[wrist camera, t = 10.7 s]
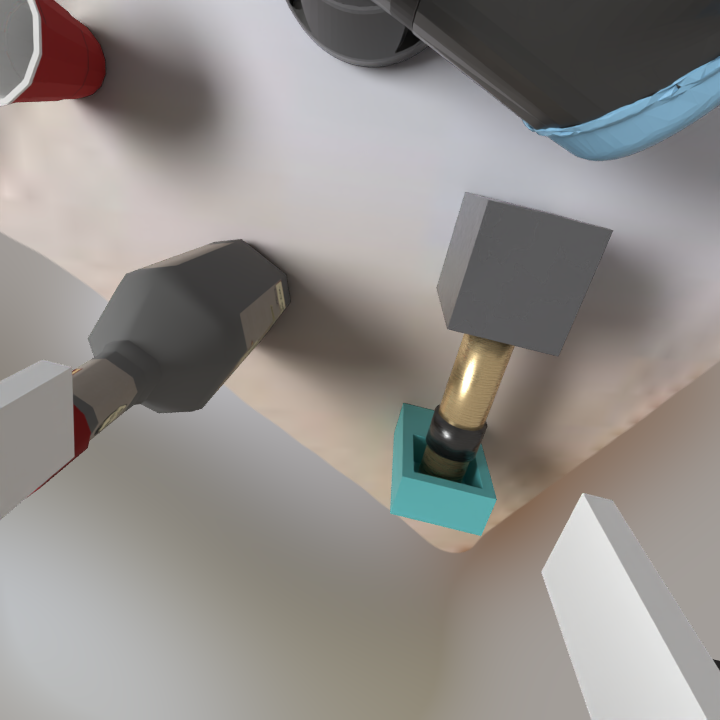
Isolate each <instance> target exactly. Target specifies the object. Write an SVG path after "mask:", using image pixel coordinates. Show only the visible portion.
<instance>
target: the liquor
mask: <svg viewBox="0 0 720 720" xmlns="http://www.w3.org/2000/svg"><path fill="white" fill-rule="evenodd" d="M290 302H291V301H290V295H289V289H288V283H287V277H286V274H285V273H283V272H282V271H281V270H280V269H278V268H277V267H276V266H275V265H273V264H272V263H271V262H270V261H268V260H267V259H266V258H265V257H263V256H262V255H261V254H260V253H258V252H257V251H256V250H255V249H253V248H252V247H251V246H249V245H248V244H247V243H246V242H244V241H243V240H242V239H239V240H230V241H220V242H213V243H210V244H208V245H205V246H202V247H199V248H197V249H194V250H191V251H188V252H186V253H183V254H180V255H177V256H174V257H172V258H169V259H166V260H163V261H161V262H158V263H155V264H152V265H149V266H147V267H144V268H141V269H138V270H136V271H133V272H130V273H127V274H126V275H125V276H124V278H123V279H122V281H121V282H120V284H119V285H118V287H117V289H116V291H115V292H114V294H113V296H112V298H111V299H110V301H109V303H108V304H107V306H106V308H105V310H104V311H103V313H102V315H101V317H100V318H99V320H98V322H97V324H96V325H95V327H94V329H93V331H92V332H91V334H90V336H89V337H88V340H89V343H90V346H91V349H92V352H93V355H94V358H92V359H91V360H89V361H88V362H86V363H84V364H83V365H81V366H79V367H78V368H76V369H75V370H73V371H72V385H73V420H74V454H75V457H74V458H72V459H71V460H70V461H69V462H68V463H67V464H65V465H64V466H63V467H62V468H61V469H60V470H58V471H57V472H56V473H55V474H54V475H52V476H51V477H50V478H49V479H48V480H47V481H45V482H44V483H43V484H42V485H41V486H40V487H38V488H37V489H36V490H35V491H37V490H38V489H39V488H41V487H42V486H43V485H44V484H45V483H46V482H48V481H49V480H50V479H51V478H52V477H54V476H55V475H56V474H57V473H58V472H60V471H61V470H62V469H63V468H64V467H66V466H67V465H68V464H69V463H70V462H71V461H73V460H74V459H75V458H76V457H78V456H79V455H80V454H81V453H82V452H83V451H85V450H86V449H87V448H88V444H89V441H90V440H91V439H92V438H94V437H95V436H96V435H97V434H98V433H100V432H101V431H102V430H103V429H104V428H105V427H107V426H108V425H109V424H111V423H112V422H113V421H114V420H115V419H117V418H118V417H119V416H120V415H121V414H123V413H124V412H125V411H127V410H128V409H129V408H130V407H132V406H133V405H136V404H142V405H144V406H146V407H147V408H149V409H151V410H153V411H156V412H157V413H172V412H191V411H195V410H199V409H202V408H203V407H204V406H205V404H206V403H207V402H208V401H209V400H210V398H212V396H213V395H214V394H215V393H216V392H217V391H218V389H219V388H220V387H221V386H222V385H223V384H224V383H225V381H226V380H227V379H228V378H229V377H230V376H231V374H232V373H233V372H234V371H235V370H236V369H237V368H238V366H239V365H240V364H241V363H242V362H243V361H244V359H245V358H246V357H247V356H248V355H249V354H250V353H251V351H252V350H253V349H254V348H255V347H256V346H257V345H258V343H259V342H260V341H261V340H262V339H263V337H264V336H265V335H266V333H267V332H268V331H269V329H270V328H271V327H272V326H273V324H274V323H275V322H276V320H277V319H278V318H279V316H280V315H281V314H282V312H283V311H284V310H285V309H286V307H287V306H288V305H289V303H290ZM35 491H34V492H35ZM34 492H33V493H34ZM31 494H32V493H31ZM31 494H30V495H31ZM30 495H29V496H30Z"/></svg>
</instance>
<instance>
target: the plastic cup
mask: <svg viewBox="0 0 720 720" xmlns="http://www.w3.org/2000/svg"><path fill="white" fill-rule="evenodd" d="M104 77H105V57H104V54H103V52H102V49H101V46H100V44H99V42H98V41H97V40H96V38H95V37H94V35H93V34H92V33H91V32H90V31H89V29H88V28H87V27H86V26H84V25H83V24H82V23H80V22H79V21H78V20H76V19H75V18H74V17H72V16H71V15H70V13H69V12H68V11H67V10H65V9H64V8H63V7H62V6H60V5H59V4H58V3H57V2H55V1H54V0H0V107H1V106H5V105H9V104H12V103H15V102H40V101H59V100H63V99H78V98H82V97H86V96H89V95H92V94H94V93H95V92H96V91H97V90H98V89H99V88H100V87H101V85H102V82H103V79H104Z"/></svg>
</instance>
